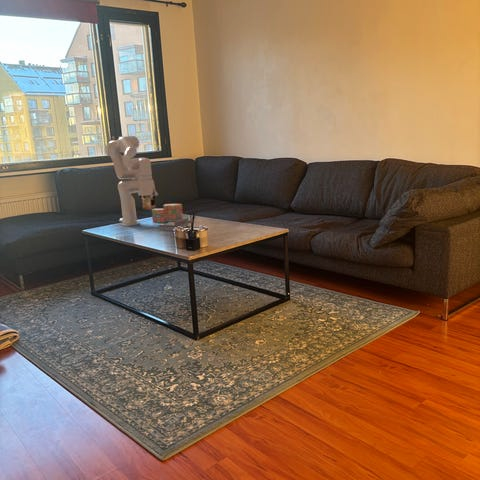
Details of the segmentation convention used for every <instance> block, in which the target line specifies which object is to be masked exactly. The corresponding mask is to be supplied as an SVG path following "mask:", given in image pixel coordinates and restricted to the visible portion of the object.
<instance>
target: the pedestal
mask: <svg viewBox="0 0 480 480" xmlns="http://www.w3.org/2000/svg"><path fill="white" fill-rule="evenodd" d="M141 200H142V210H153V209H157V208H156V207H157V206H156V204H155V205H154V206H151V200H152V199H151V197H150V196H146V197H145V198H142V199H141Z"/></svg>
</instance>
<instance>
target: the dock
mask: <svg viewBox="0 0 480 480" xmlns="http://www.w3.org/2000/svg"><path fill="white" fill-rule="evenodd" d="M188 225H189V217H185V218H183V219H182V220H180V221H175V220H170V222H165V223H164V224H158V225H157V229H158V231H167V232H169V231H170V232H171V231H172V232H173V229H174V228H175V227H178V226H181V227H184V226H187V227H189V226H188Z"/></svg>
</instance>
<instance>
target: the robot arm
mask: <svg viewBox="0 0 480 480" xmlns="http://www.w3.org/2000/svg"><path fill="white" fill-rule="evenodd" d="M139 147H140V139H139V138H138V136H135V135H130V136H129V135H128V136H127V135H126V136H120V137H119V138H118V139H116V140H110V141H109V142H108V143H107V147H106V148H107V152H108V155H109V157H110V159H111V161H112V163H113V167H114V170H115V174H116V177H117V178H118V180H121V181H119V182H118V183H117V189H118V194H119V197H120V204H121V214H122V217H121V218H119V222H121V226H124V227H129V226H131V227H132V226H135V225H139V224H140V221H138V219H137V211H136V202H135V201H136V200H135V198H134V197H133V195H132V194H135V193H137V195H138V197H139V198H140V199H141V200H142V198H145V197H151V199H152V200H151V206H154V205H155V206H156V203H155V202H156V201H155V199H156V198H157V196H158V195H159V193H158V192H157V191H156V186H155V182H154V179H153V176H152V175H153V174H152V173H153V172H152V165H151V164H152V163H151V159H150V158H148V157H147V158H146V157H135V156H136V155H137V152H138V150H137V149H138V148H139ZM121 153H123V155H122V154H121Z"/></svg>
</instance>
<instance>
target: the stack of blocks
mask: <svg viewBox="0 0 480 480" xmlns="http://www.w3.org/2000/svg"><path fill="white" fill-rule="evenodd" d="M162 207H163V208H153V209H151V218H152V223H169V222H170V220H175V221H180V220H182V219H184V213H183V204H182V203H165V204H163V205H162Z"/></svg>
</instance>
